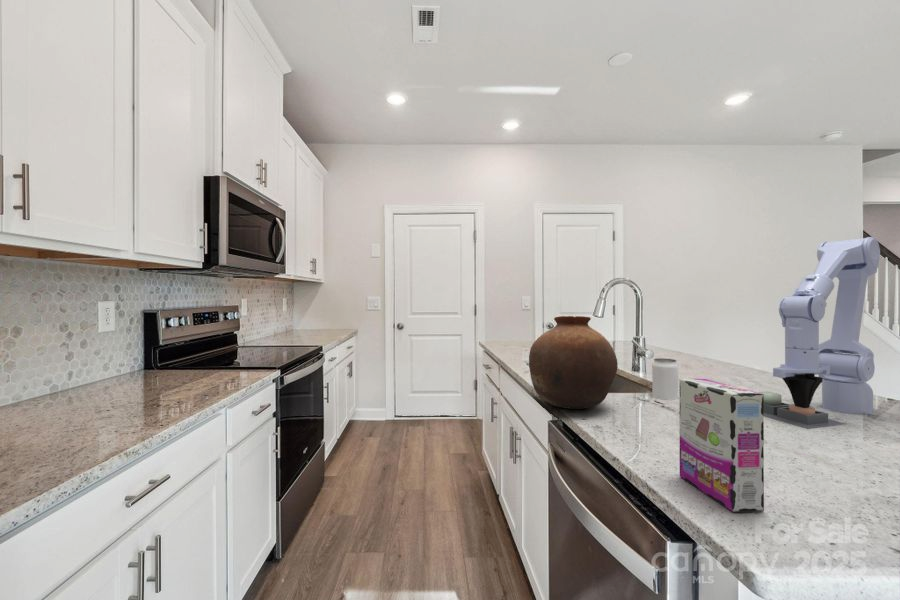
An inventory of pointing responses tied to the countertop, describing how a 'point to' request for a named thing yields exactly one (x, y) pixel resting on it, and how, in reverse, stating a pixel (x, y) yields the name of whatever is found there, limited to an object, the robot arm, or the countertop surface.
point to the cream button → (744, 387)
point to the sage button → (772, 398)
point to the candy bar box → (723, 443)
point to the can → (665, 379)
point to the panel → (799, 417)
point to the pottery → (572, 364)
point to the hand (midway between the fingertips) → (801, 407)
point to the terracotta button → (802, 409)
